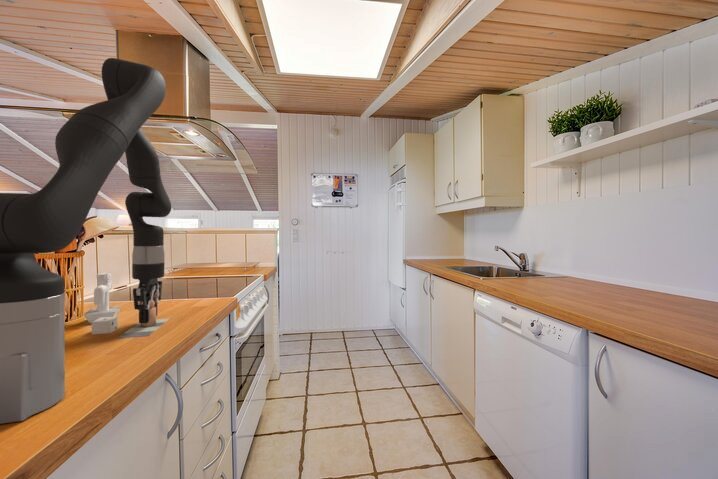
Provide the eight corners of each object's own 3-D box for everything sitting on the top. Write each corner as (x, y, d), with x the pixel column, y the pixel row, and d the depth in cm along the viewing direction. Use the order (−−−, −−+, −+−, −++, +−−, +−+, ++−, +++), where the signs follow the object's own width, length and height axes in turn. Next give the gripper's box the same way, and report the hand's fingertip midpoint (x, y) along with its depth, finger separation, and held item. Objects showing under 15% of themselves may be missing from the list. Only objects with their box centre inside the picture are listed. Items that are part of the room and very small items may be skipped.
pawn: (153, 326, 81) (153, 300, 81) (138, 327, 80) (138, 300, 80) (158, 322, 85) (158, 297, 85) (143, 323, 84) (143, 297, 84)
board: (148, 338, 74) (148, 335, 74) (115, 340, 72) (115, 338, 72) (169, 320, 89) (169, 318, 89) (143, 322, 87) (143, 320, 87)
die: (110, 335, 76) (110, 320, 76) (91, 337, 75) (91, 321, 75) (117, 330, 80) (118, 316, 80) (100, 332, 78) (100, 317, 78)
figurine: (81, 328, 81) (81, 275, 81) (92, 319, 89) (92, 271, 89) (114, 324, 84) (114, 274, 84) (121, 316, 93) (122, 270, 92)
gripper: (154, 263, 77) (153, 326, 77) (172, 259, 90) (171, 312, 91) (120, 264, 74) (120, 328, 75) (144, 259, 88) (144, 314, 88)
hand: (148, 319), depth 83 cm, fingers open, 5 cm apart
